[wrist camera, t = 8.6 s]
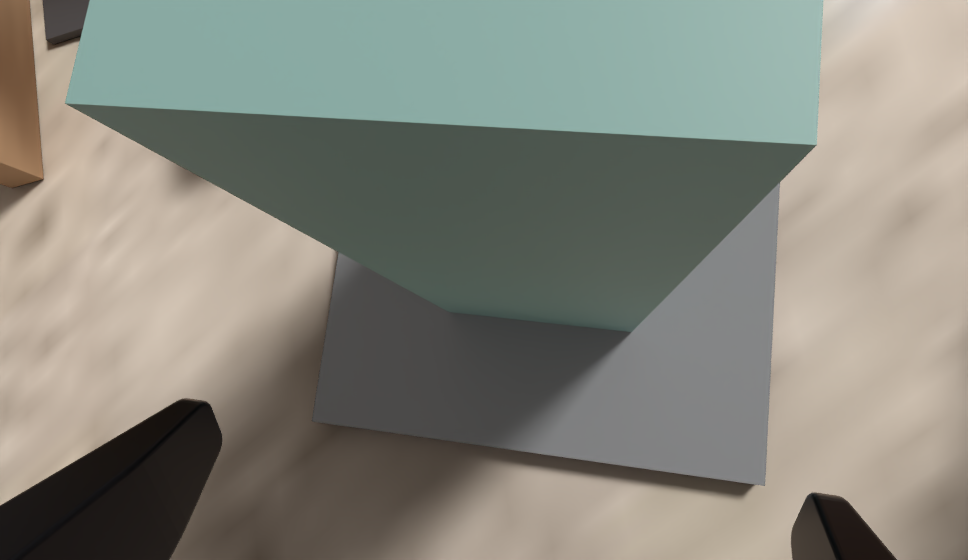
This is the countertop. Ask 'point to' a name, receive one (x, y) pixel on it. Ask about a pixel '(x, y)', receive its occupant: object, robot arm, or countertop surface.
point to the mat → (570, 369)
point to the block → (476, 131)
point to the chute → (27, 82)
